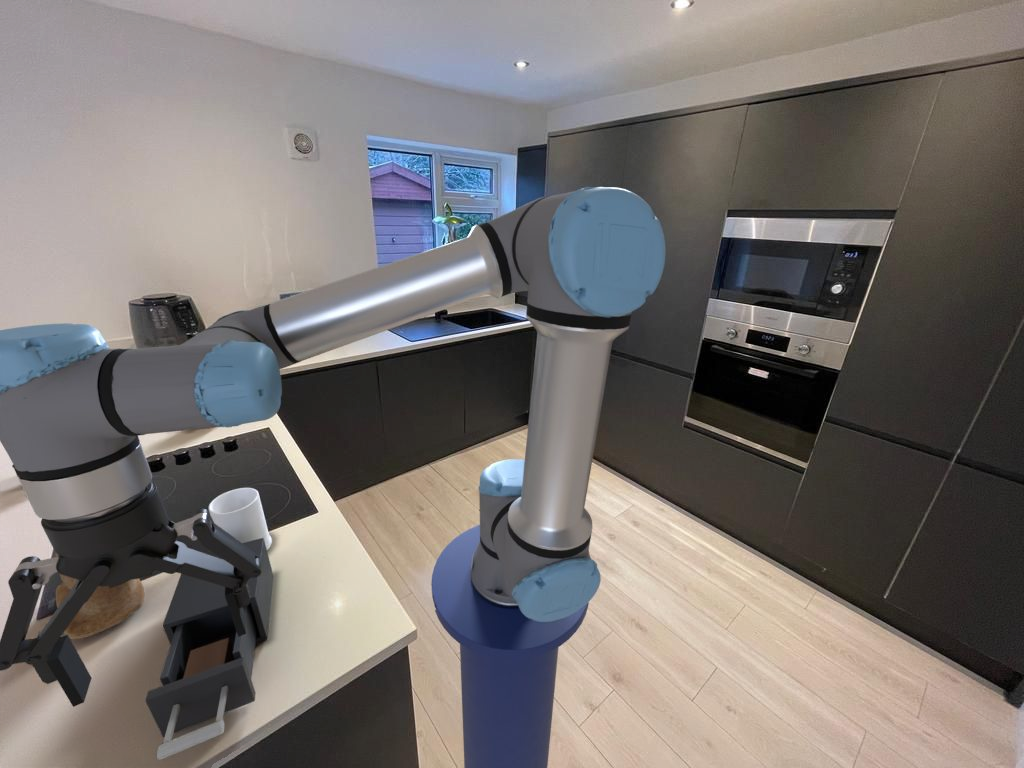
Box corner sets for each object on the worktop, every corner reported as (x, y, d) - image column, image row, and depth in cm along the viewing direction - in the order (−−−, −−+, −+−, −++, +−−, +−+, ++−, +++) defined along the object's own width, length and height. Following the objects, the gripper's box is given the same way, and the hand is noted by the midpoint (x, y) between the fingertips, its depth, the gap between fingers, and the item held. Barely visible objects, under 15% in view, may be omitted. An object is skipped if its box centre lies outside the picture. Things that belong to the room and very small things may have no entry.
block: (236, 658, 58) (229, 637, 56) (231, 688, 54) (223, 666, 53) (198, 672, 56) (190, 650, 55) (191, 704, 52) (181, 681, 51)
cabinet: (267, 639, 63) (255, 596, 60) (180, 669, 58) (162, 625, 55) (273, 575, 74) (263, 537, 71) (201, 597, 70) (187, 557, 67)
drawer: (249, 747, 49) (236, 710, 47) (147, 792, 45) (126, 754, 42) (263, 624, 64) (253, 590, 62) (187, 649, 60) (174, 614, 58)
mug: (245, 524, 87) (233, 477, 83) (286, 522, 88) (275, 476, 83) (212, 566, 76) (195, 515, 72) (259, 564, 77) (245, 514, 72)
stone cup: (167, 604, 68) (139, 535, 63) (66, 656, 60) (25, 581, 54) (148, 559, 77) (123, 495, 72) (59, 598, 69) (22, 529, 64)
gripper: (258, 443, 45) (292, 583, 53) (-96, 521, 33) (16, 690, 40) (261, 476, 39) (299, 627, 47) (-169, 587, 27) (-22, 769, 34)
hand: (168, 656), depth 44 cm, fingers open, 13 cm apart
